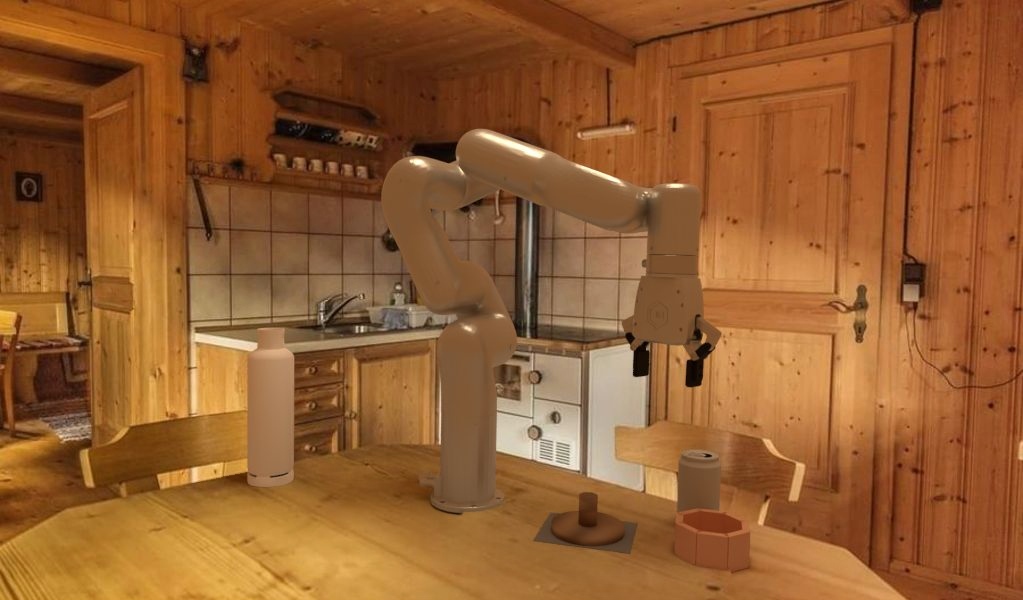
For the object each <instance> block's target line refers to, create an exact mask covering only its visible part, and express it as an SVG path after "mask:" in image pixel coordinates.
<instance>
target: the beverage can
mask: <svg viewBox="0 0 1023 600" xmlns="http://www.w3.org/2000/svg"><path fill="white" fill-rule="evenodd" d="M680 455H681V456H680V458H679V459H678V467H677V468H678V469H677V470H678V471H677V473H678V474H677V498H676V499H677V500H676V503H677V505H676V506H677V507H676V513H678V512H683V511H687V510H692V509H698V508H699V509H708V510H717V511H720V509H721V508H720V505H721V504H720V502H721V501H720V500H721V479H722V478H721V475H722V474H721V473H722V464H721V461H720V460H719V458H720V456H719V454H718V453H716V452H713V451H711V450H710V451H709V450H705V449H686V450H682V451H681V454H680Z"/></svg>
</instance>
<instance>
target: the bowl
mask: <svg viewBox="0 0 1023 600" xmlns="http://www.w3.org/2000/svg"><path fill="white" fill-rule="evenodd" d="M675 514H676V515H675V524H674V526H675V527H674V547H673V549H674V551H673V552H674V553H673V555H676V556H677V557H679V558H681V559H682V560H684V561H687V562H688V563H690V564H692V565H693V566H696V567H704V568H709V569H711V568H712V569H719V570H726V571H727V570H728V571H729V570H730V573H735V572H738V571H741V570H745V569H748V568H749V567H750V553H751V552H750V551H751V550H750V549H751V527H750V522H749V520H747V519H745V518H742V517H740V516H738V515H736V514H733V513H732V512H731V513H730V512H729V511H725V510H719V511H717V510H708V509H699V508H698V509H692V510H687V511H683V512H678V513H677V512H676V513H675Z"/></svg>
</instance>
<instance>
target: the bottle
mask: <svg viewBox="0 0 1023 600" xmlns="http://www.w3.org/2000/svg"><path fill="white" fill-rule="evenodd" d="M256 332H257V345H256V346H257V348H255V349H254V350H252V351H251V352H250V353H249V354H248V355H247V360H246V363H247V367H246V368H247V369H246V370H247V374H246V375H247V380H246V381H247V383H246V384H247V386H246V387H247V390H246V391H247V395H246V396H247V399H246V400H247V403H246V404H247V406H246V407H247V411H246V413H247V420H246V423H247V429H246V430H247V431H246V432H247V433H246V435H247V439H246V441H247V442H246V443H247V446H246V447H247V449H246V451H247V456H246V457H247V459H246V460H247V461H246V463H247V465H246V467H247V471H248V472H247V475H246V479H247V484H248V485H250V486H252V487H256V488H273V487H280V486H284V485H287V484H290V483H291V482H293V481H294V478H295V473H294V472H295V470H294V466H295V355H294V353H293V352H292V351H290V349H288V348H286V345H285V333H286V329H285V328H284V327H259V328H257V329H256ZM279 475H280V476H279Z"/></svg>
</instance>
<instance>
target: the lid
mask: <svg viewBox="0 0 1023 600" xmlns="http://www.w3.org/2000/svg"><path fill="white" fill-rule="evenodd" d="M578 496H579V497H578V510H571V511H570V510H569V511H565V512H562V513H560V514H559V515H557V516H555V517H554V518H553V519H552V521H551V532H552V534H553V535H554V536H555V537H557V538H558V539H560V540H562V541H565V542H567V543H571V544H575V545H582V546H605V545H610V544H614V543H616V542H618V541H620V540H621V539H622V538H623V537H624V524H623V522H622V521H623V520H621V519H619V517H618V518H617V517H616V516H614V515H611V514H607V513H604V512H599V511H598V505H599V504H598V502H599V501H598V499H599V497H598V494H597V493H596V492H590V491H589V492H588V491H585V492H583V491H582V492H580V493H579V494H578Z"/></svg>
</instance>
